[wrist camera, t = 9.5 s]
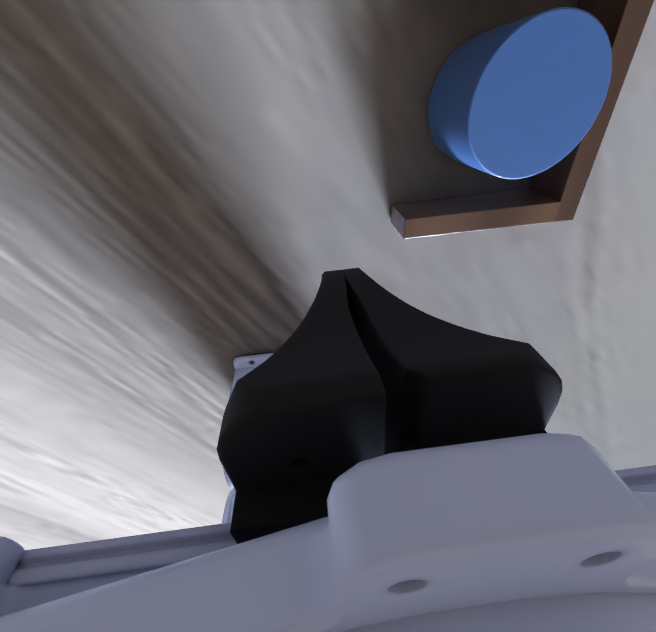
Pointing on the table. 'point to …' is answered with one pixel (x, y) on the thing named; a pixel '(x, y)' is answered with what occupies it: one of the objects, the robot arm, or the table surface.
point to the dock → (555, 182)
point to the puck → (522, 93)
